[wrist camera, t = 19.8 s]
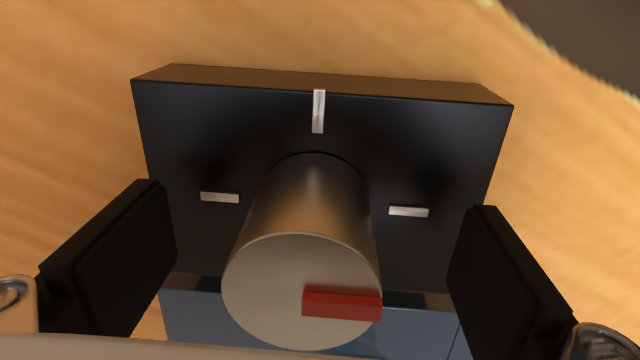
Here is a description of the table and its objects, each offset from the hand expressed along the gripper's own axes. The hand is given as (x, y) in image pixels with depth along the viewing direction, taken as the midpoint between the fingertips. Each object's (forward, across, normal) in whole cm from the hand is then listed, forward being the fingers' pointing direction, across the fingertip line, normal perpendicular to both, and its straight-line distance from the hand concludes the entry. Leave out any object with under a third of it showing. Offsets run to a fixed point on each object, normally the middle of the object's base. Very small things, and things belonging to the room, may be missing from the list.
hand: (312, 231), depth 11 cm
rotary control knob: (+2, 0, 0) cm, 2 cm away
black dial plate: (+5, 0, 0) cm, 5 cm away
